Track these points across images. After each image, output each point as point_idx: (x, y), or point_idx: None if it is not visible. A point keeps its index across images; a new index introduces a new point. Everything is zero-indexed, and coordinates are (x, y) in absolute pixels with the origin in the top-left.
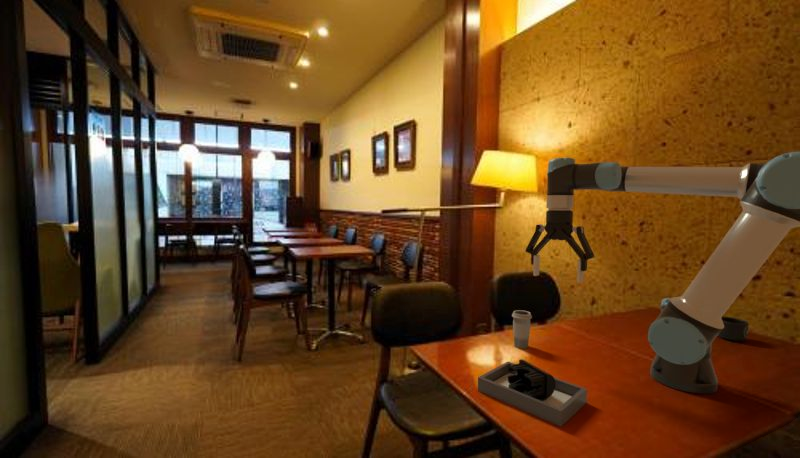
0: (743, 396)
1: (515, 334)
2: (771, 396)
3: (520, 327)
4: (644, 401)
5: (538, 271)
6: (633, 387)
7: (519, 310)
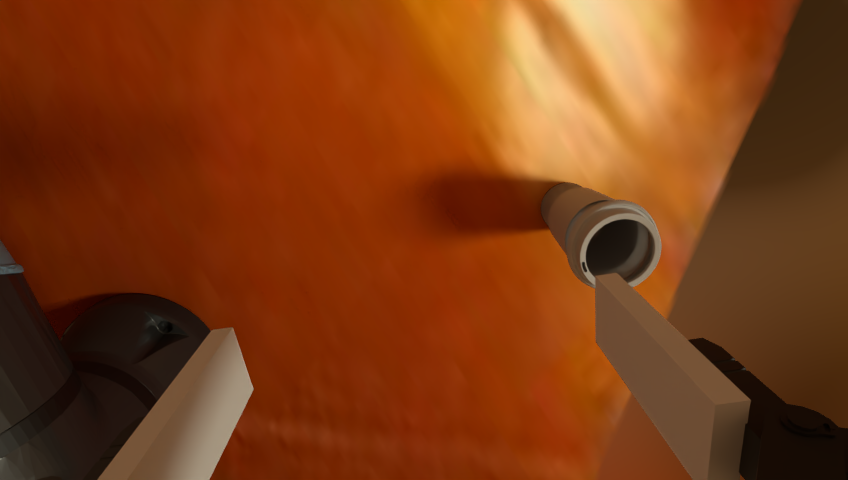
0: None
1: (591, 190)
2: None
3: (581, 200)
4: (114, 153)
5: (609, 345)
6: (182, 214)
7: (647, 273)
